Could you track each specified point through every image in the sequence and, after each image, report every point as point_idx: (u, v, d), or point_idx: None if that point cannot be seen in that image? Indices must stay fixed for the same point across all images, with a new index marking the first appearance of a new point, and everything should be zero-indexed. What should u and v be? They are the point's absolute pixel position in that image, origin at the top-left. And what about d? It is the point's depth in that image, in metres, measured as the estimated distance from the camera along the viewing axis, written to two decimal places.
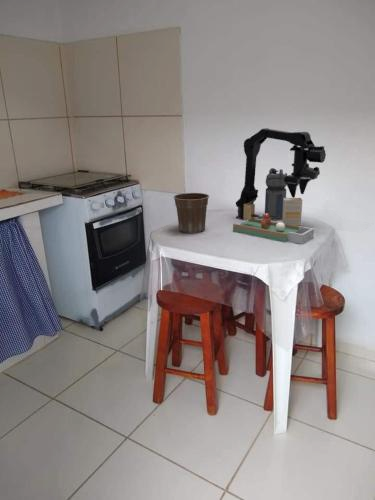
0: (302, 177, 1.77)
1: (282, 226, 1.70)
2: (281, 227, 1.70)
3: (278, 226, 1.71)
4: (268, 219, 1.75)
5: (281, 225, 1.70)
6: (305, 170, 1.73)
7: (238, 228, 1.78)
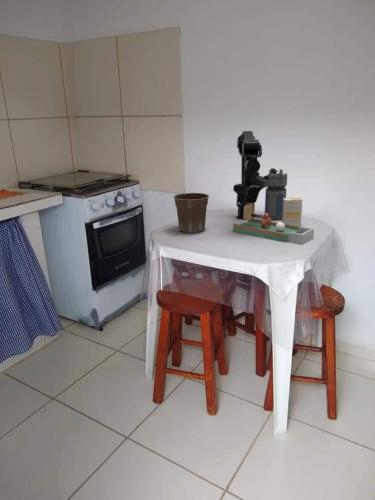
0: (252, 186, 1.75)
1: (282, 226, 1.70)
2: (281, 227, 1.70)
3: (278, 226, 1.71)
4: (268, 219, 1.75)
5: (281, 225, 1.70)
6: (254, 179, 1.71)
7: (238, 228, 1.78)
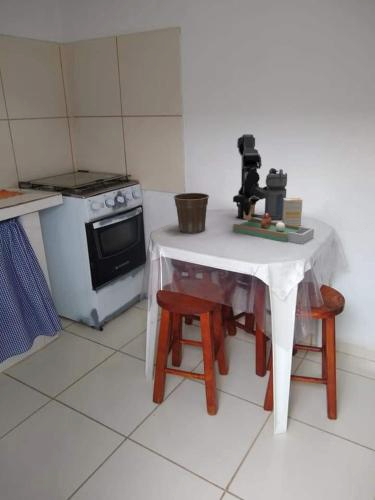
0: (255, 195, 1.79)
1: (282, 226, 1.70)
2: (281, 227, 1.70)
3: (278, 226, 1.71)
4: (268, 219, 1.75)
5: (281, 225, 1.70)
6: (254, 190, 1.73)
7: (238, 228, 1.78)
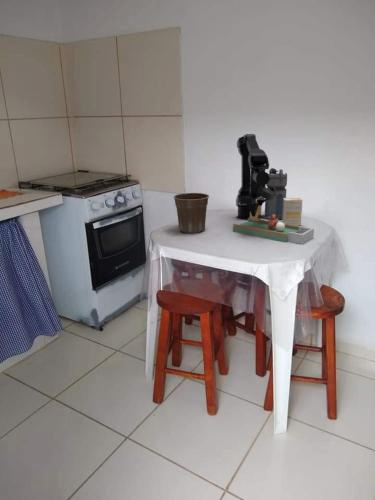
0: (262, 196, 1.77)
1: (282, 226, 1.70)
2: (281, 227, 1.70)
3: (278, 226, 1.71)
4: (275, 220, 1.73)
5: (281, 225, 1.70)
6: (261, 191, 1.71)
7: (238, 228, 1.78)
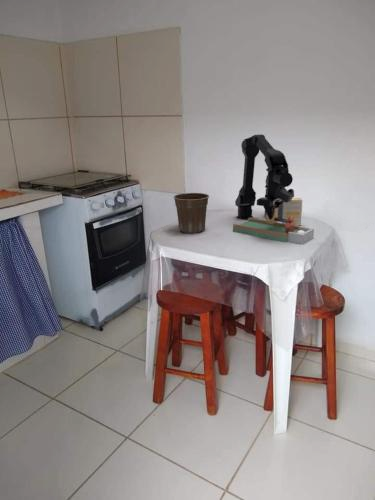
0: (279, 198, 1.72)
1: (300, 232, 1.65)
2: (300, 233, 1.65)
3: None
4: (292, 223, 1.68)
5: (299, 232, 1.66)
6: (279, 192, 1.66)
7: (238, 228, 1.78)
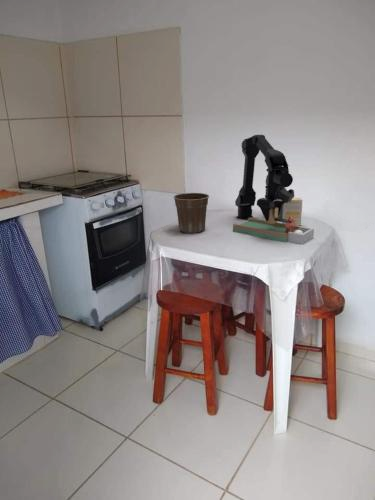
0: (276, 200, 1.69)
1: (296, 231, 1.67)
2: (296, 232, 1.66)
3: None
4: (293, 223, 1.68)
5: (295, 232, 1.67)
6: (279, 193, 1.66)
7: (238, 228, 1.78)
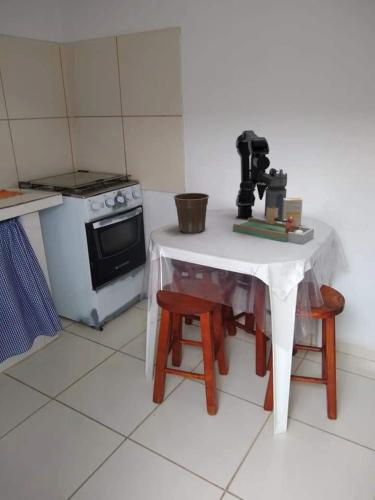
0: (259, 183, 1.75)
1: (297, 231, 1.66)
2: (297, 232, 1.66)
3: None
4: (293, 223, 1.68)
5: (296, 232, 1.67)
6: (261, 176, 1.71)
7: (238, 228, 1.78)
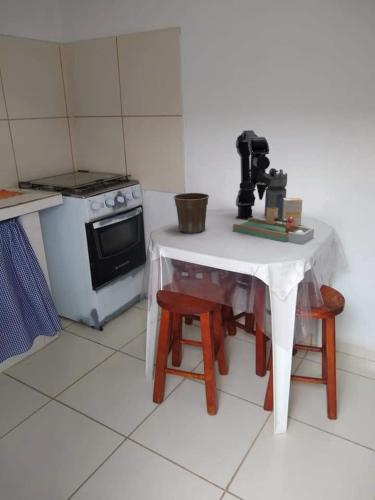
0: (259, 183, 1.75)
1: (298, 231, 1.66)
2: (298, 232, 1.66)
3: None
4: (293, 223, 1.68)
5: (296, 232, 1.67)
6: (261, 176, 1.71)
7: (238, 228, 1.78)
